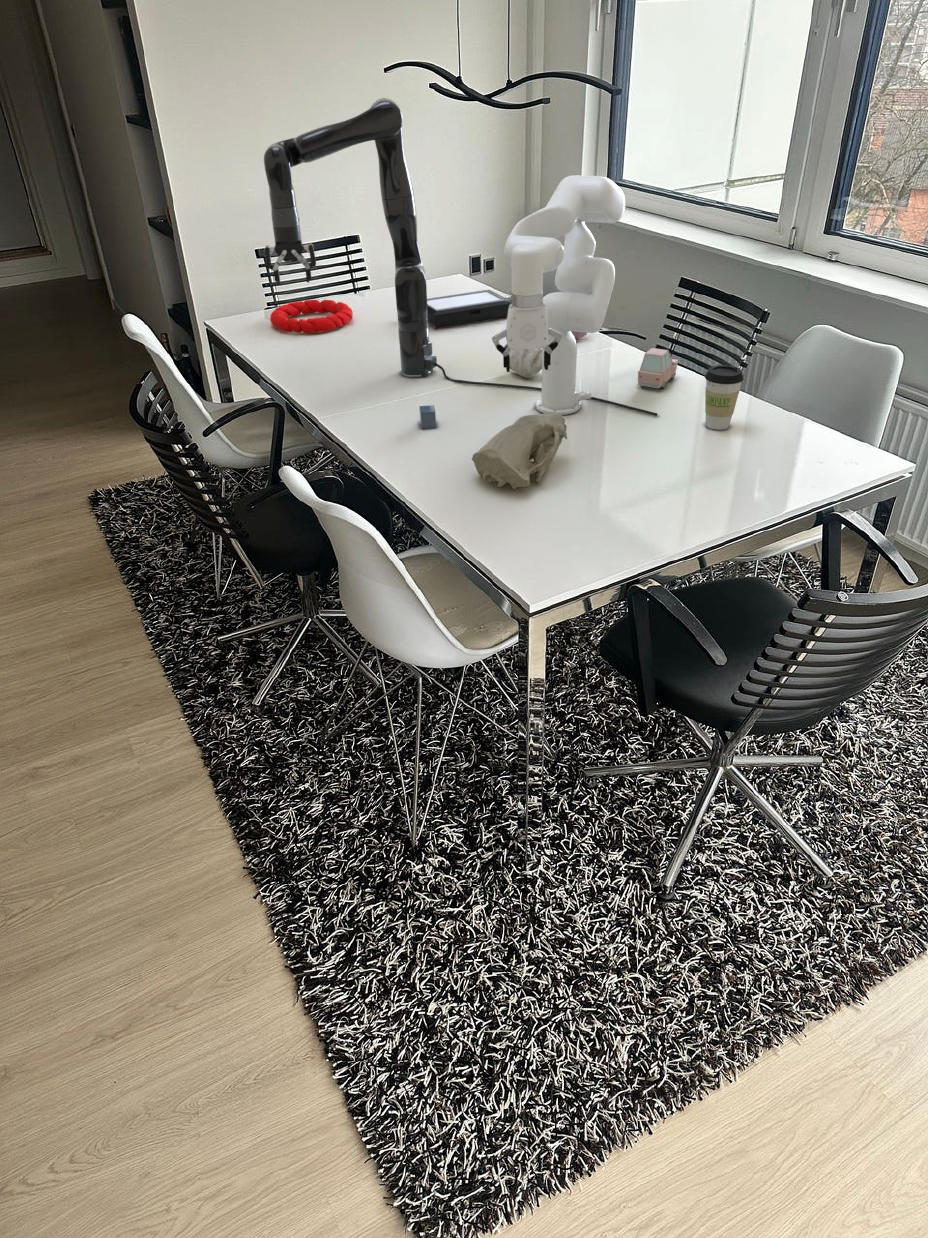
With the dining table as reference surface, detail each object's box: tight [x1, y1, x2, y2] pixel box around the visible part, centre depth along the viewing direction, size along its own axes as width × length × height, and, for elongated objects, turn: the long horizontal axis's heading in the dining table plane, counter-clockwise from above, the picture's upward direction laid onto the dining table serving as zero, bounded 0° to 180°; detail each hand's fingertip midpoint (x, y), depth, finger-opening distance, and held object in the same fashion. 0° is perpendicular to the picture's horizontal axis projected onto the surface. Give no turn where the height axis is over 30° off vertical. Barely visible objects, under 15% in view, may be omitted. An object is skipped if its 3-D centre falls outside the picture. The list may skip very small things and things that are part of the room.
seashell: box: [509, 348, 542, 379], centre depth 273 cm, size 10×15×10 cm
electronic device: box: [427, 289, 512, 330], centre depth 327 cm, size 32×6×20 cm
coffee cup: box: [704, 364, 745, 431], centre depth 235 cm, size 10×10×15 cm
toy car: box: [637, 347, 679, 389], centre depth 265 cm, size 9×15×10 cm, turn 149°
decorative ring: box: [269, 299, 354, 334], centre depth 328 cm, size 7×30×30 cm
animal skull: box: [471, 412, 568, 490], centre depth 215 cm, size 17×25×20 cm
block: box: [419, 404, 437, 430], centre depth 244 cm, size 5×4×5 cm
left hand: (293, 282), depth 262 cm, fingers open, 8 cm apart
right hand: (526, 368), depth 224 cm, fingers open, 9 cm apart
